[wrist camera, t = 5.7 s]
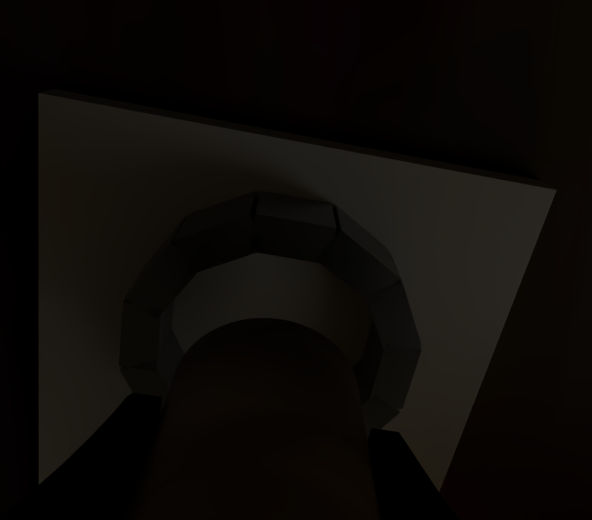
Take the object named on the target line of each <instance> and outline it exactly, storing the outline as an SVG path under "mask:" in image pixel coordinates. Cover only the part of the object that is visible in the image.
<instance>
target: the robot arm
mask: <svg viewBox="0 0 592 520" xmlns="http://www.w3.org/2000/svg"><path fill="white" fill-rule="evenodd" d="M161 403H162V397H160V396H153V395H146V394H139V393H131V394H130V395H128V396H127V397H126V398H125V399H124V400H123V402H122V403H121V404H120V405H119V406H118V407H117V409H116V410H115V411H114V412H113V413H112V414H111V415H110V417H109V418H108V419H107V420H106V421H105V422H104V423H103V424H102V425H101V426H100V427H99V428H98V429H97V430H96V431H95V432H94V434H93V435H92V436H91V437H90V438H89V439H88V440H87V441H86V442H85V443H83V444H82V445H81V446H80V447H79V448H78V449H77V450H76V451H75V452H74V453H73V454H72V455H71V456H70V457H69V458H68V459H67V460H66V461H65V462H64V463H63V464H62V465H61V466H60V467H59V468H57V469H56V470H55V471H54V472H53V473H52V474H51V475H49V476H48V477H47V478H46V479H45V480H44V481H43V482H41V483H40V484H39V485H38V486H37V487H36V488H35V489H34V490H32V491H31V492H30V493H29V494H28V495H27V496H25V497H24V498H23V499H22V500H20V501H19V502H18V503H17V504H16V505H14V506H13V507H12V508H11V509H9V510H8V511H7V512H5V513H4V514H3V515H2V516H0V520H124V519H125V516H126V513H127V510H128V507H129V505H130V502H131V499H132V496H133V493H134V490H135V487H136V484H137V481H138V478H139V475H140V472H141V470H142V467H143V464H144V461H145V458H146V455H147V452H148V449H149V446H150V443H151V440H152V438H153V435H154V432H155V429H156V426H157V423H158V420H159V417H160V412H161ZM368 447H369V452H370V458H371V464H372V470H373V475H374V481H375V487H376V493H377V498H378V504H379V510H380V516H381V520H459V519H458V518H457V517H456V515H455V514H454V512H453V511H452V510H451V508H450V507H449V505H448V504H447V503H446V501H445V500H444V498H443V497H442V496H441V494H440V493H439V491H438V490H437V488H436V487H435V485H434V484H433V482H432V481H431V479H430V478H429V476H428V475H427V473H426V472H425V470H424V469H423V467H422V466H421V464H420V463H419V461H418V460H417V458H416V457H415V455H414V454H413V452H412V451H411V449H410V448H409V446H408V445H407V443H406V442H405V440H404V439H403V437H402V436H401V434H400V433H399V432H396V431H389V430H382V429H376V428H371V431H370V434H369V437H368Z"/></svg>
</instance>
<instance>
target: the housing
mask: <svg viewBox="0 0 592 520" xmlns="http://www.w3.org/2000/svg"><path fill="white" fill-rule="evenodd" d="M555 193H556V189H554V188H552V187H551V186H549V185H548V184H546V183H545V182H543V181H541V180H536V179H531V178H525V177H520V176H515V175H510V174H504V173H499V172H494V171H488V170H483V169H478V168H472V167H467V166H462V165H456V164H451V163H446V162H440V161H435V160H430V159H424V158H419V157H414V156H408V155H403V154H398V153H393V152H387V151H382V150H377V149H371V148H366V147H361V146H355V145H350V144H345V143H339V142H334V141H329V140H323V139H318V138H313V137H307V136H302V135H297V134H292V133H286V132H281V131H276V130H270V129H265V128H260V127H254V126H249V125H244V124H238V123H233V122H228V121H222V120H217V119H212V118H206V117H201V116H196V115H190V114H185V113H180V112H175V111H169V110H164V109H159V108H153V107H148V106H143V105H137V104H132V103H127V102H121V101H116V100H111V99H105V98H100V97H95V96H89V95H84V94H79V93H74V92H68V91H63V90H58V89H52V90H48V91H44V92H41V93H38V199H39V484H40V483H41V482H43V481H44V480H45V479H46V478H47V477H48V476H49V475H51V474H52V473H53V472H54V471H55V470H56V469H57V468H59V467H60V466H61V465H62V464H63V463H64V462H65V461H66V460H67V459H68V458H69V457H70V456H71V455H72V454H73V453H74V452H75V451H76V450H77V449H78V448H79V447H80V446H81V445H82V444H83V443H85V442H86V441H87V440H88V439H89V438H90V437H91V436H92V435H93V434H94V432H95V431H96V430H97V429H98V428H99V427H100V426H101V425H102V424H103V423H104V422H105V421H106V420H107V419H108V418H109V417H110V415H111V414H112V413H113V412H114V411H115V410H116V409H117V407H118V406H119V405H120V404H121V403H122V402H123V400H124V399H125V398H126V397H127V396H128V395H130V394H131V393H139V394H146V395H153V396H160V397H162V403H161V411H162V408H163V405H164V403H165V400H166V397H167V394H168V391H169V388H170V385H171V382H172V379H173V376H174V373H175V371H176V368H177V366H178V364H179V362H180V360H181V359H182V357H183V356H184V354H185V353H186V352H187V350H188V349H189V348H190V347H191V346H192V345H193V344H194V343H195V342H196V341H197V340H199V339H200V338H201V337H202V336H204V335H205V334H207V333H209V332H210V331H212V330H214V329H216V328H218V327H220V326H223V325H225V324H228V323H231V322H235V321H239V320H244V319H252V318H276V319H282V320H288V321H291V322H295V323H299V324H301V325H304V326H306V327H309V328H311V329H313V330H315V331H317V332H318V333H320V334H322V335H323V336H325V337H326V338H327V339H329V340H330V341H332V342H333V343H334V344H335V345H336V346H337V347H338V348H339V349H340V350H341V351H342V353H343V354H344V355H345V357H346V358H347V359H348V361H349V363H350V365H351V366H352V368H353V371H354V374H355V376H356V380H357V384H358V389H359V395H360V401H361V407H362V412H363V418H364V424H365V429H366V435H367V441H368V437H369V434H370V431H371V428H376V429H382V430H389V431H396V432H399V433H400V434H401V436H402V437H403V439H404V440H405V442H406V443H407V445H408V446H409V448H410V449H411V451H412V452H413V454H414V455H415V457H416V458H417V460H418V461H419V463H420V464H421V466H422V467H423V469H424V470H425V472H426V473H427V475H428V476H429V478H430V479H431V481H432V482H433V484H434V485H435V487H436V488H437V490H438V491H440V489H441V486H442V483H443V481H444V478H445V476H446V473H447V471H448V468H449V465H450V463H451V460H452V458H453V455H454V453H455V450H456V447H457V445H458V442H459V440H460V437H461V434H462V432H463V429H464V427H465V424H466V422H467V419H468V416H469V414H470V411H471V409H472V406H473V404H474V401H475V398H476V396H477V393H478V391H479V388H480V386H481V383H482V380H483V378H484V375H485V373H486V370H487V368H488V365H489V362H490V360H491V357H492V355H493V352H494V350H495V347H496V344H497V342H498V339H499V337H500V334H501V332H502V329H503V326H504V324H505V321H506V319H507V316H508V314H509V311H510V308H511V306H512V303H513V301H514V298H515V295H516V293H517V290H518V288H519V285H520V283H521V280H522V277H523V275H524V272H525V270H526V267H527V265H528V262H529V259H530V257H531V254H532V252H533V249H534V247H535V244H536V241H537V239H538V236H539V234H540V231H541V229H542V226H543V223H544V221H545V218H546V216H547V213H548V211H549V208H550V205H551V203H552V200H553V198H554V195H555ZM160 414H161V412H160Z"/></svg>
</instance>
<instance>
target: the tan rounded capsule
mask: <svg viewBox="0 0 592 520" xmlns="http://www.w3.org/2000/svg"><path fill="white" fill-rule="evenodd" d="M124 520H381V516H380V510H379V504H378V498H377V493H376V487H375V481H374V475H373V470H372V464H371V458H370V452H369V447H368V441H367V435H366V429H365V424H364V418H363V412H362V407H361V401H360V395H359V389H358V384H357V380H356V376H355V374H354V371H353V368H352V366H351V365H350V363H349V361H348V359H347V358H346V357H345V355H344V354H343V353H342V351H341V350H340V349H339V348H338V347H337V346H336V345H335V344H334V343H333V342H332V341H330V340H329V339H327V338H326V337H325V336H323V335H322V334H320V333H318V332H317V331H315V330H313V329H311V328H309V327H306V326H304V325H301V324H299V323H295V322H291V321H288V320H282V319H276V318H252V319H244V320H239V321H235V322H231V323H228V324H225V325H223V326H220V327H218V328H216V329H214V330H212V331H210V332H209V333H207V334H205V335H204V336H202V337H201V338H200V339H199V340H197V341H196V342H195V343H194V344H193V345H192V346H191V347H190V348H189V349H188V350H187V352H186V353H185V354H184V356H183V357H182V359H181V360H180V362H179V364H178V366H177V368H176V371H175V373H174V376H173V379H172V382H171V385H170V388H169V391H168V394H167V397H166V400H165V403H164V405H163V408H162V411H161V414H160V417H159V420H158V423H157V426H156V429H155V432H154V435H153V438H152V440H151V443H150V446H149V449H148V452H147V455H146V458H145V461H144V464H143V467H142V470H141V472H140V475H139V478H138V481H137V484H136V487H135V490H134V493H133V496H132V499H131V502H130V505H129V507H128V510H127V513H126V516H125V519H124Z"/></svg>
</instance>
